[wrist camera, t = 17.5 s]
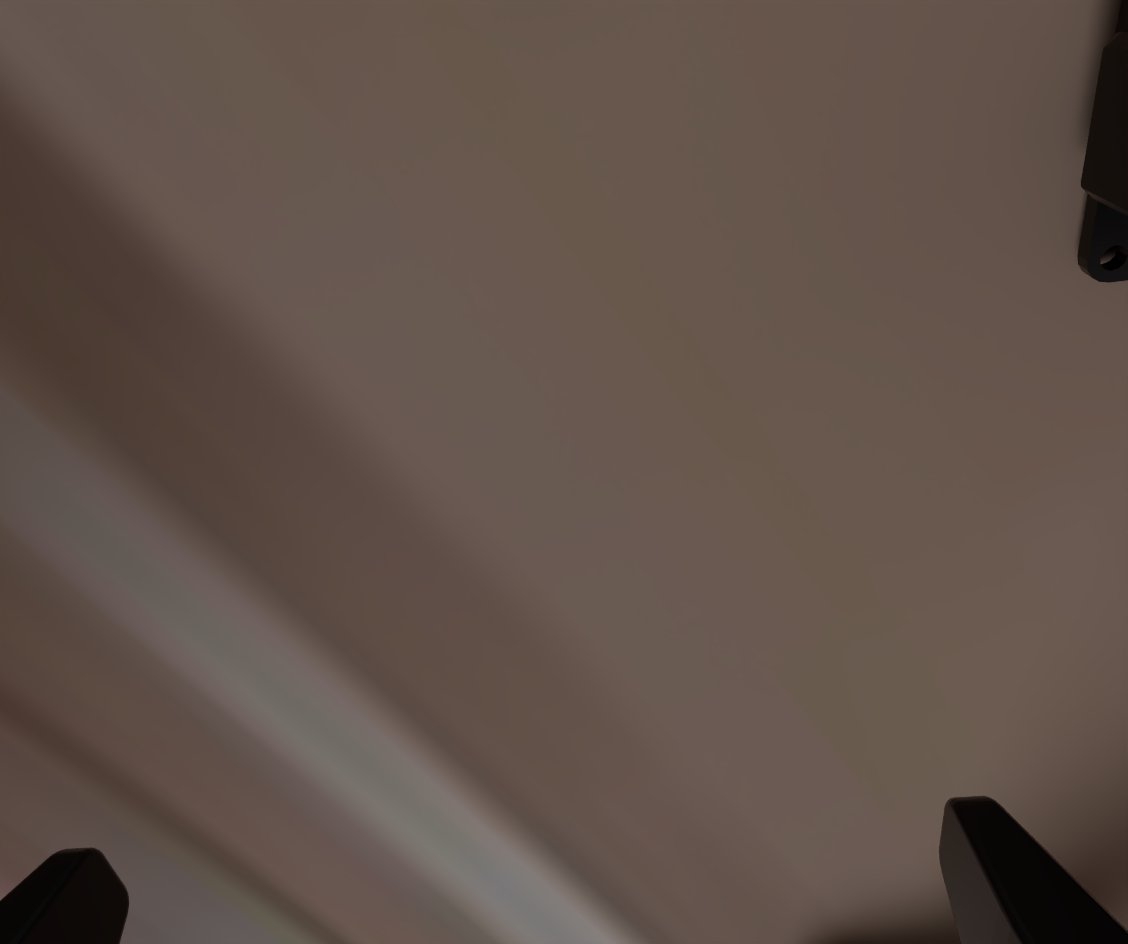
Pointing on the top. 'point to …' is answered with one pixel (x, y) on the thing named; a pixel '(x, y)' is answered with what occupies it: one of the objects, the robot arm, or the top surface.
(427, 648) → the top surface
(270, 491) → the top surface
